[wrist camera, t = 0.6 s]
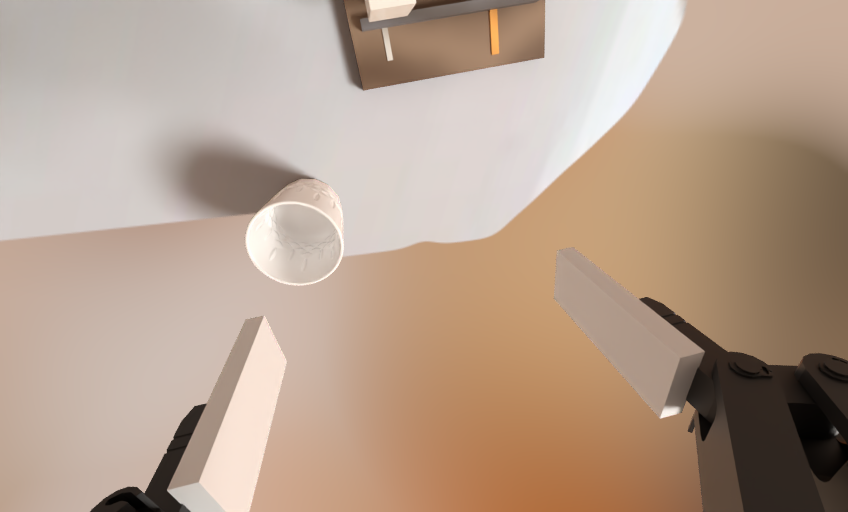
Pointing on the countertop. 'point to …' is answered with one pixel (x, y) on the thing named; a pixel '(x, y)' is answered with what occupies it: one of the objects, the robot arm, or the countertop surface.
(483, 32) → the board
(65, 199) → the countertop surface
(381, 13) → the block
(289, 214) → the white cup
